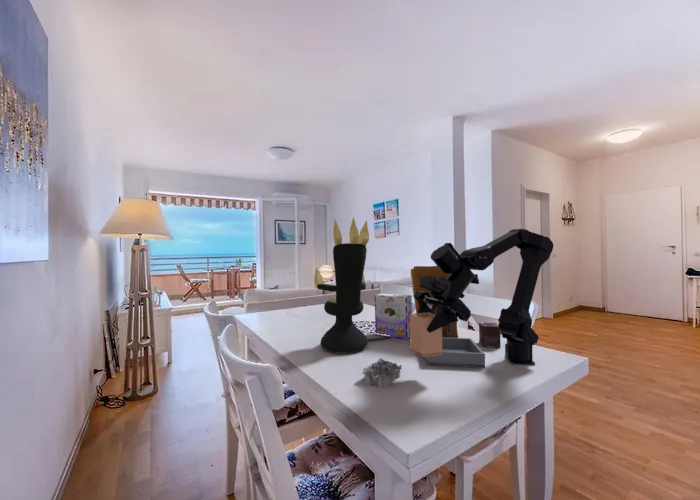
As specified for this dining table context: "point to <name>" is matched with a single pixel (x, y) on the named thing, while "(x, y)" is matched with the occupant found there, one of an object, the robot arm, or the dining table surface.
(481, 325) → the box
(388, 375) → the grey jagged ring
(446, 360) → the grey square tray
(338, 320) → the candelabra
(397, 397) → the dining table surface
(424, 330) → the orange square container
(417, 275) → the pancake mix bag
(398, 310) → the candy box
